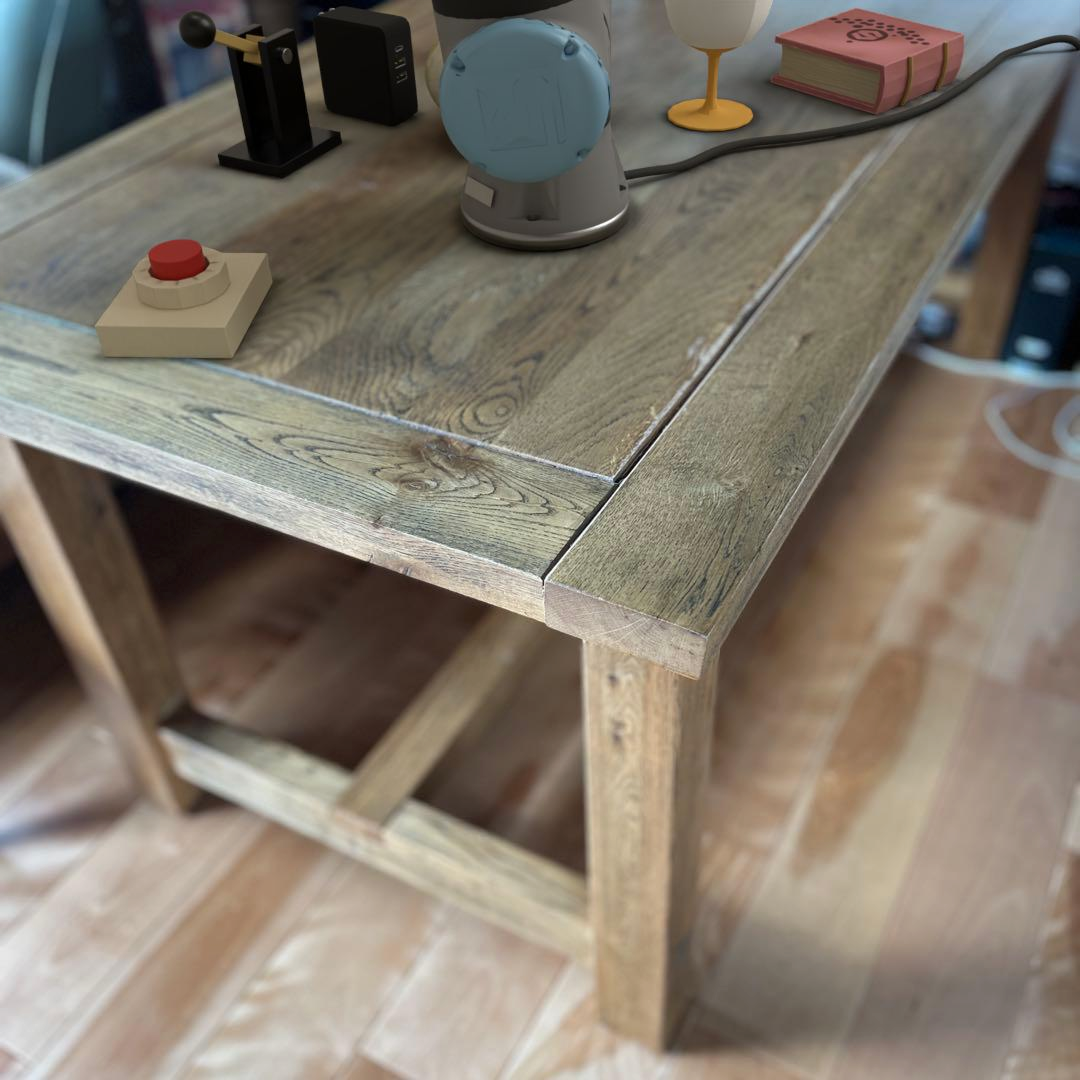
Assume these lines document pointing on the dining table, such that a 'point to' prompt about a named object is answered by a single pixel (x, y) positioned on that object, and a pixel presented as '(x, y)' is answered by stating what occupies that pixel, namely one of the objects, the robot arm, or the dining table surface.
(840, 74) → the book
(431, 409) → the dining table surface
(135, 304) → the power block
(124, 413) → the dining table surface
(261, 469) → the dining table surface
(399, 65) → the electronic device
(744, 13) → the cup
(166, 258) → the power button
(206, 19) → the lever
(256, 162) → the lamp switch
